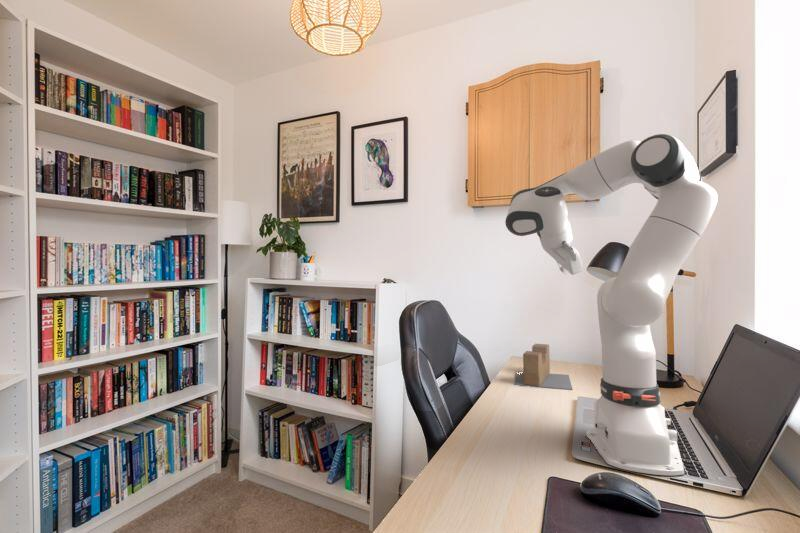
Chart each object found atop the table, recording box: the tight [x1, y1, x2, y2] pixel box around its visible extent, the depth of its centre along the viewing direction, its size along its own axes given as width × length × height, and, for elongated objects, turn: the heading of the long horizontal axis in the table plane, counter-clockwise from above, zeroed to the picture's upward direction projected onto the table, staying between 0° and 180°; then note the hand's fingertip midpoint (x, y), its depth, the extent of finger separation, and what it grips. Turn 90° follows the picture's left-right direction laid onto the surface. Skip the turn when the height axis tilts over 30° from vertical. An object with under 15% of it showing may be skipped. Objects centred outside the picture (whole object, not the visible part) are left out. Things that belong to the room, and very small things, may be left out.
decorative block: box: [522, 343, 551, 386], centre depth 144 cm, size 11×6×20 cm
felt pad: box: [513, 371, 573, 391], centre depth 143 cm, size 18×19×1 cm
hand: (564, 271), depth 128 cm, fingers closed
